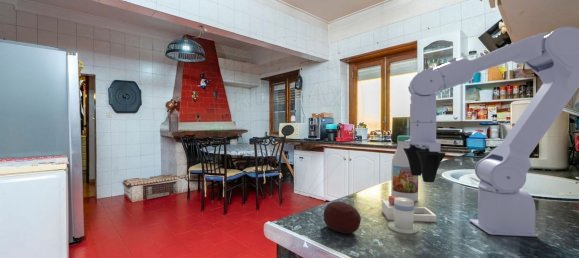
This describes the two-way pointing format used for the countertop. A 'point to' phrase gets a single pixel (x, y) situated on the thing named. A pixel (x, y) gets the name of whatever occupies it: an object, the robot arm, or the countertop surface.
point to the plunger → (392, 199)
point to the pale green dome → (412, 231)
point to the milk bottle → (403, 173)
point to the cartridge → (403, 213)
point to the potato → (341, 217)
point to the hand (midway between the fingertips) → (422, 178)
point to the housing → (425, 216)
